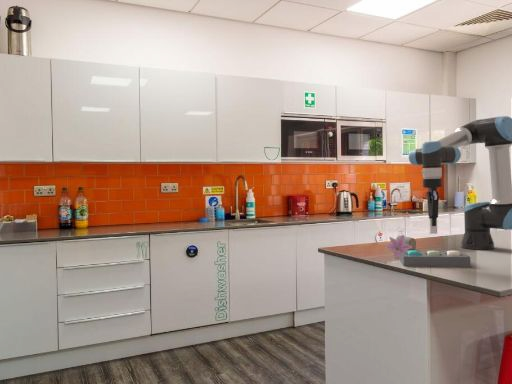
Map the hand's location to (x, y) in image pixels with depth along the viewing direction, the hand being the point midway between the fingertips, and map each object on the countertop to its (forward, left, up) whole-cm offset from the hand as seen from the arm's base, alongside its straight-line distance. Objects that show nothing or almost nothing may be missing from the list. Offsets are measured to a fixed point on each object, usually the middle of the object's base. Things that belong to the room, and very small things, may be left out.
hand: (433, 233), depth 186 cm
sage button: (0, 0, -12) cm, 12 cm away
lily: (+13, -15, -13) cm, 24 cm away
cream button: (-8, 0, -12) cm, 14 cm away
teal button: (+8, 0, -12) cm, 14 cm away
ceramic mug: (+6, -33, -13) cm, 36 cm away
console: (0, 0, -13) cm, 13 cm away
